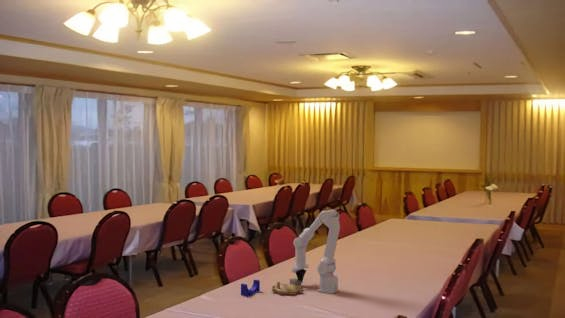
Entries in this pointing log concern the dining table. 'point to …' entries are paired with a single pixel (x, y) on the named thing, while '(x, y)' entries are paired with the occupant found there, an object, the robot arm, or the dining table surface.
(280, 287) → the sprocket wheel
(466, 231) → the dining table surface
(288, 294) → the wheel base
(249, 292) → the cable clip
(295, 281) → the link block
